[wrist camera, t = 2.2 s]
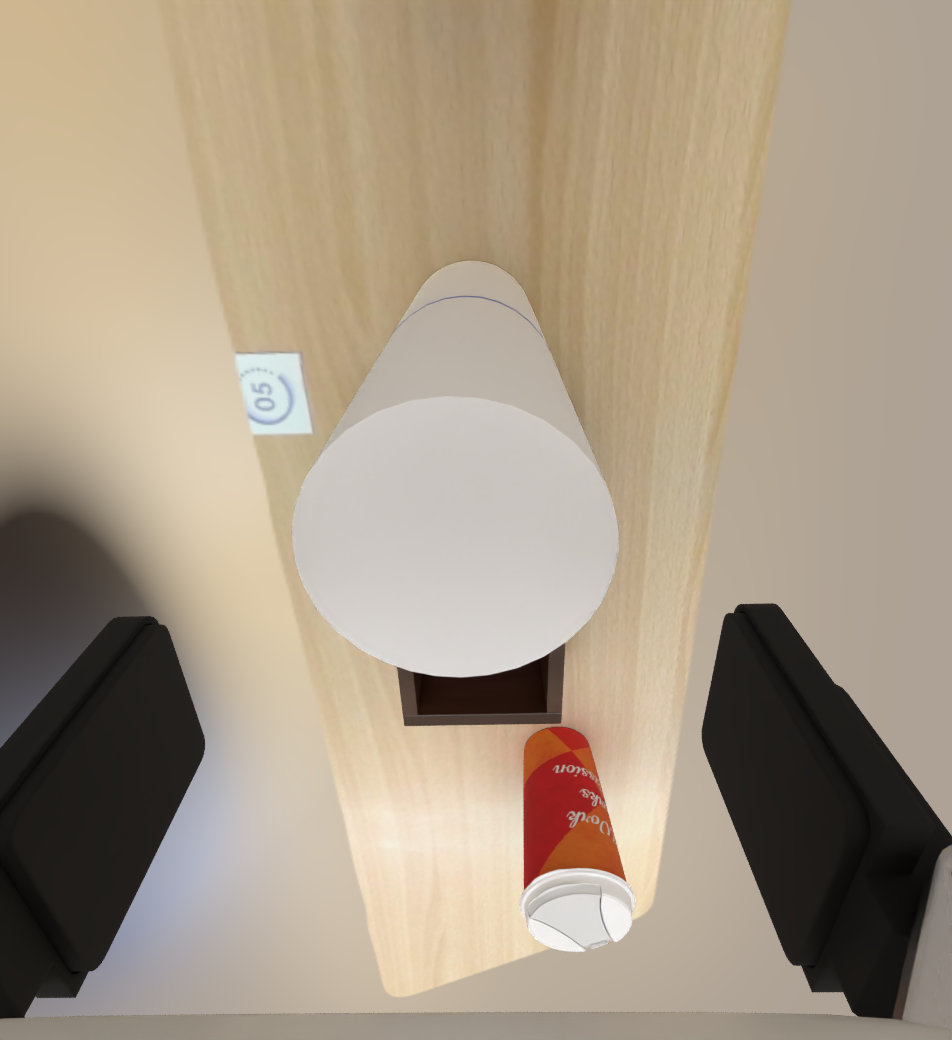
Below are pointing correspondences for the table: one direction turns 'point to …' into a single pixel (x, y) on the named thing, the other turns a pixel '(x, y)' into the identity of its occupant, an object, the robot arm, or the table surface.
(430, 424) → the cylindrical container
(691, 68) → the table surface
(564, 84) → the table surface
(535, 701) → the wooden compartment box
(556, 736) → the paper cup
